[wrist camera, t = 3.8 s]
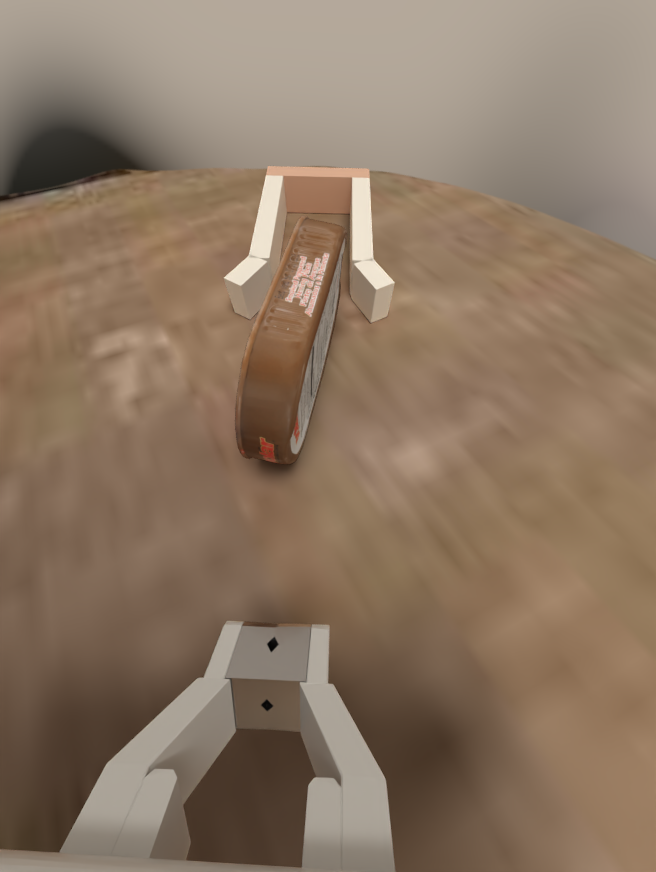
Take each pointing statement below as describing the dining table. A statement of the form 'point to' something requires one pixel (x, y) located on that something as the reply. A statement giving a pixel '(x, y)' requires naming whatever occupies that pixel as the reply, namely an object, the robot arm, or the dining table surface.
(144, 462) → the dining table surface
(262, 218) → the guide channel
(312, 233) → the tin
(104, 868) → the robot arm
